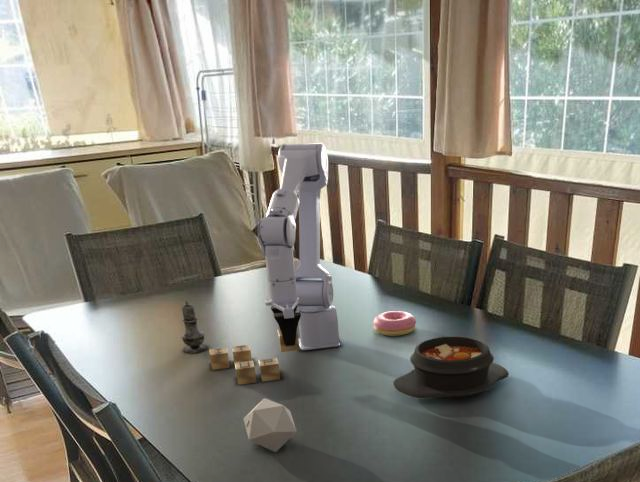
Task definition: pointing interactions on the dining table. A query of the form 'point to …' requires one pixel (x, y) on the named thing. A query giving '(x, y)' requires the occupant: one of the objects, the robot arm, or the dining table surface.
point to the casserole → (450, 369)
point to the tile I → (219, 358)
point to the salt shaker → (192, 330)
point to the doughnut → (394, 323)
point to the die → (270, 425)
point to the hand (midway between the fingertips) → (288, 341)
